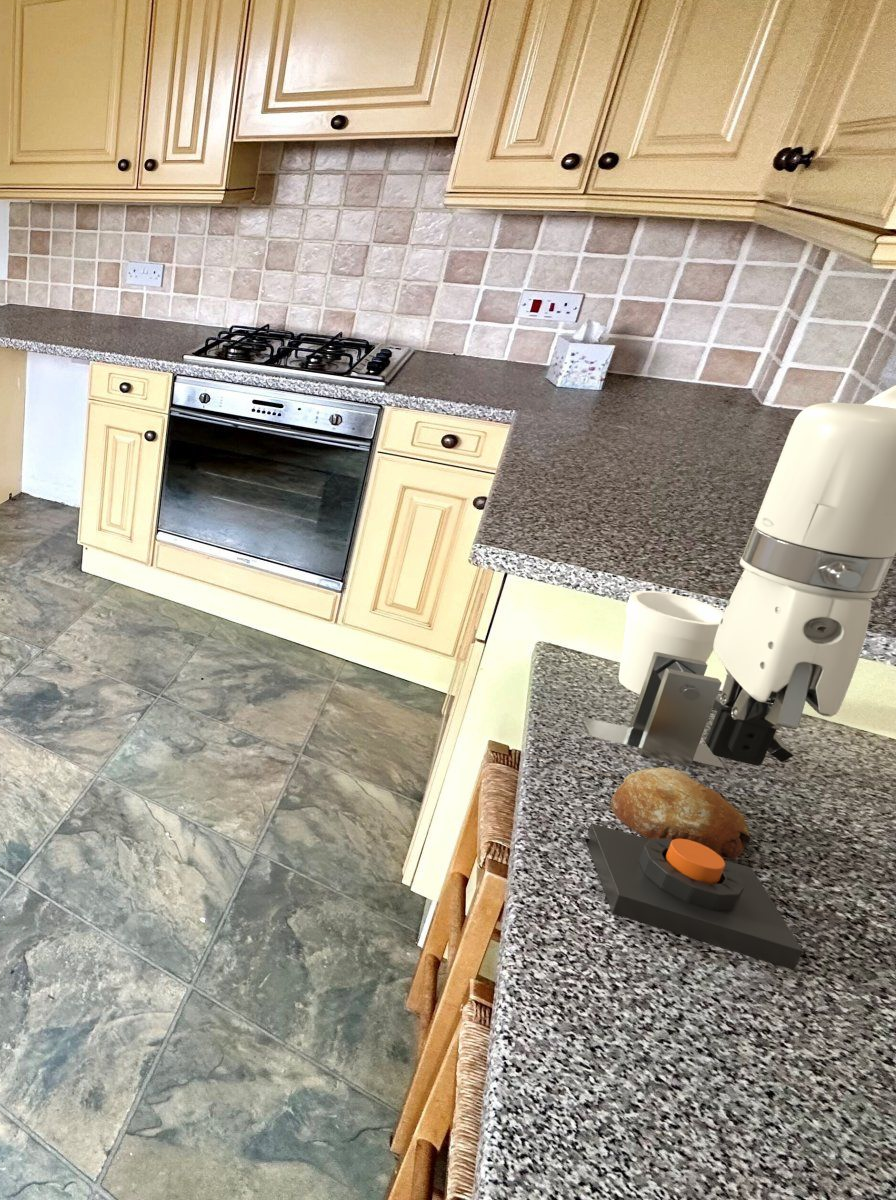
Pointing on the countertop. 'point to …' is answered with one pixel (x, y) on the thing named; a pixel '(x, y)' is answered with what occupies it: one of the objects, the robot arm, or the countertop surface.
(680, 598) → the foam cup
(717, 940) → the control block
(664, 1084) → the countertop surface
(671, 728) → the metal lever bracket
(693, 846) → the button
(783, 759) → the lever
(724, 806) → the bread roll
